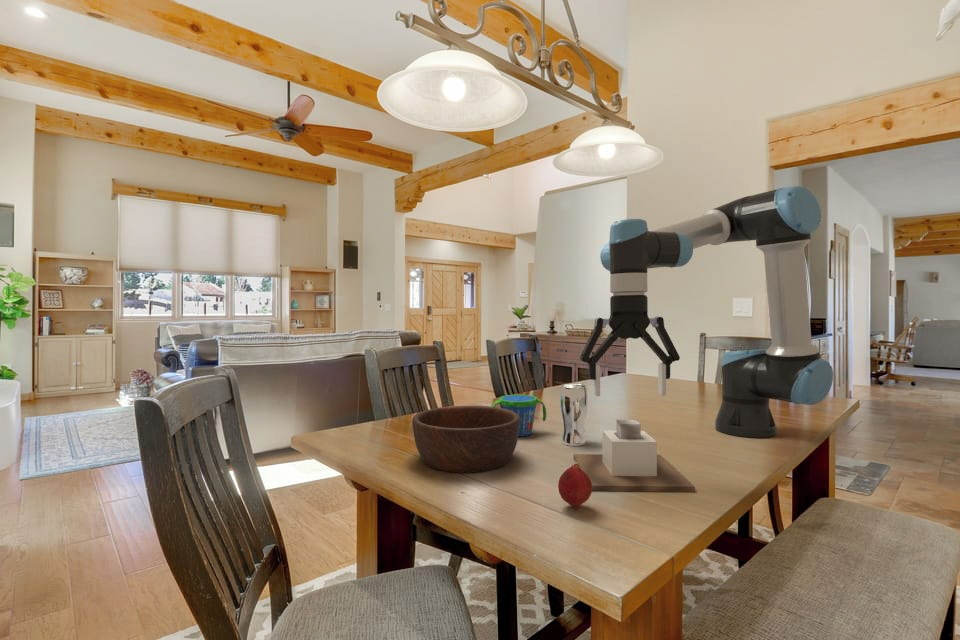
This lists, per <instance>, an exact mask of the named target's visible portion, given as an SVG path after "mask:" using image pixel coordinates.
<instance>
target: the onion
mask: <svg viewBox="0 0 960 640" xmlns="http://www.w3.org/2000/svg"><path fill="white" fill-rule="evenodd" d="M579 466H580V464H579V463H578V462H577V463H576V462H575V461H574V462H573V463H572V465H571V466H570V467H568V468H567V469H566V470H565V471H563V473H562V474H561V475H560V477H559V479H558V482H557V486H558V493H559V495H560V498H561V499H562V500H563V501H564V502H565V503H567V504H568V505H569V506H571V507H572V508H575V509H577V508H579V507H580V506H581V505H582V504H584V503H585V502H587V501H588V500H589V499H590V497H591V495H592V493H593V491H592V483H591V480H590V478H589V477H588V475H587V474H586V473H585V472H584V471H583V470H582V469H580V468H579Z"/></svg>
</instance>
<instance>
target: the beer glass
mask: <svg viewBox="0 0 960 640" xmlns="http://www.w3.org/2000/svg"><path fill="white" fill-rule="evenodd" d="M559 396H560V398H559V402H560V403H559V404H560V414H561V415H560V416H561V421H562V425H563V426H562V427H563V431H562V433H563V434H562V439H561V442H562V444H563V445H565V446H569V447H583V446H585V445H586V442H587V441H586V436H585V425H586V417H587V413H588V412H587V411H588V388H587V385H585V384H582V383H564V384H561V385H560V395H559Z"/></svg>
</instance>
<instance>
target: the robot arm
mask: <svg viewBox="0 0 960 640" xmlns="http://www.w3.org/2000/svg"><path fill="white" fill-rule="evenodd" d="M821 220H822V210H821V207H820V203H819V201H818V199H817V197H816V196H815V195H814V193H812V191H811V189H810V190H809V189H808V188H806V187H805V186H800V185H793V186H788V187H787V186H786V187H782V188H777V189H774V190H773V189H772V190H769V191H765V192H761V193H757V194H752V195H746V196H744V197H741V198H738V199H735V200H733V201H730V202H727V203H725V204H722V205H720V206H718V207H717V206H716V207H714V208H712V209H711V208H710V209H709V210H707V211H705V212H704V213H702V214H701V216H699V217H695V218H692V219H688V220H685V221H681V222H677V223H674V224H671V225H668V226H667V225H666V226H665V227H661V228H657V229H654V230H649V228H648V223H647V221H646V220H645V219H641V218H628V219H627V218H625V219H619V220H615V221H613V222H612V223H611V224H610V229H609V240H608V242H607V243H605V244H604V246H603V247H602V248H601V251H600V256H599V258H600V261H601V265H602V267H603V268H604V269H605V270H607V271H608V272H609V273H610V277H609V281H610V282H609V286H610V287H609V288H610V289H609V292H610V293H611V294H612V295H611V296H610V297H609V299H610V301H609V302H610V304H609V305H610V307H609V308H610V310H609V311H610V313H609V314H610V315H609V318H602V317H596V318H595V320H594V328H593V330H592V332H591V334H590V336H589V338H588V339H587V342H586V344H585V346H584V349H583V350H582V352H581V354H580V357H579V360H580V361H582V362H584V363H586V364H588V377H589V379H590V380H592V381H593V394H594V395H595V396H596V397H600V396H601V373H600V372H601V366H600V364H598V362H599V360H600V359H601V358H602V357H603V355H605V353H606V352H607V351H608V350H609V349H610V347H612V346H613V343H615V342H616V341H617V340H618V339H619V338H620V339H621V340H626V339H635V340H637V339H639V338H640V339H642V340H643V342H644V344H646V345H647V346H648V347H649V348H650V350H651V351H652V352H653V353H654V354H655V356H657V358H658V359H659V360H660V361H661V362H658V363H657V393H658V394H659V395H660V396H665V397H666V396H667V380H670V378H671V365H672V363H674V362H677V361H679V360H680V358H681V357H680V355H679V354H680V353H679V352H678V351H677V349H676V347H675V345H674V343H673V342H672V339H671V337H670V336H669V333H668V331H667V329H666V328H665V319H664V318H663V316H655V317H651V318H650V317H649V316H648V313H649V312H648V309H649V307H648V306H649V305H648V300H649V299H648V296H647V295H646V294H645V293H647V292H648V290H649V289H648V288H649V287H648V269H655V268H656V269H657V268H671V269H672V268H680V267H683V266H685V265H687V264H688V263H689V262H690V261H691V259H692V257H693V254H694V249H698V248H700V247H703V246H707V245H711V246H718V245H723V244H725V243H726V244H727V243H734V242H736V243H737V242H748V241H749V242H750V241H755V246H756V247H755V248H757V249H759V250H760V251H762V253H763V259H764V260H763V261H764V270H765V271H764V272H765V281H766V294H767V305H768V306H767V307H768V315H769V316H768V317H769V326H770V327H769V329H770V337H771V340H770V341H771V345H770V346H769V347H768V348H767V349H766V348H762V349H761V348H760V349H744V350H729V351H726V352H724V354H723V355H722V364H721V390H722V391H721V397H722V398H721V399H722V400H721V405H720V407H719V410H718V412H717V415H716V418H715V423H714V428H715V430H717V431H718V432H720V433H724V434H727V435H731V436H737V437H743V438H755V439H756V438H761V439H762V438H772V437H775V436H776V435H777V425H776V423H775V419H774V417H773V414H772V411H771V408H770V400H775V401H781V402H787V403H792V404H795V405H806V406H813V405H817V404H819V403H821V402H822V401H823V400H825V398H826V397H827V396H828V394H829V393H830V390H831V388H832V385H833V381H834V370H833V367H832V365H831V364H830V362H829V361H828V360H825V359H824V358H821V354H820V353H821V352H820V349H819V348H818V347H817V346H816V345H814V343H812V332H811V331H812V330H811V320H810V307H809V304H810V303H809V295H808V294H809V293H808V283H807V282H808V281H807V269H806V268H807V267H806V257H805V247H806V246H807V245H808V244H809V243H810V242H811V240H812V236H811V233H814V232H815V231H816V230H818V228H819V226H820V222H822V221H821ZM607 325H608V326H609V328H610V329H611V332H609V334H608V335H607V337H606V338H605V339H604V340H603V341H602V343H601V344H600V345H599V347H598V348H597V349H596V350H595V351H594V349H595V346H596V344H597V342H598V339H599V337H600V335H601V334H602V331H603V329H606V326H607ZM649 325H651V326H652V327H653V328H654V329H655V331H656V333H657V334H658V337H659V339H660V341H661V342H662V345H663V346H664V348H665V350H666V352H667V353H666V352H665V351H664V350H663V349H662V348H661V347H660V345H659V344H658V343H657V342H656V341H655V339H653V337H652V335H650V334H649V331H647V329H648V327H649ZM592 351H594V353H593V352H592ZM592 353H593V354H592ZM591 354H592V355H591Z"/></svg>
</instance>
